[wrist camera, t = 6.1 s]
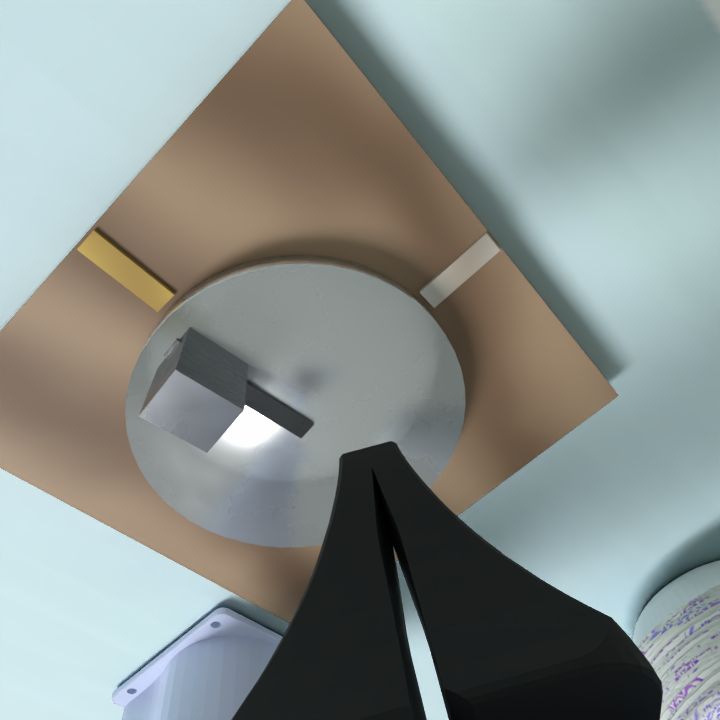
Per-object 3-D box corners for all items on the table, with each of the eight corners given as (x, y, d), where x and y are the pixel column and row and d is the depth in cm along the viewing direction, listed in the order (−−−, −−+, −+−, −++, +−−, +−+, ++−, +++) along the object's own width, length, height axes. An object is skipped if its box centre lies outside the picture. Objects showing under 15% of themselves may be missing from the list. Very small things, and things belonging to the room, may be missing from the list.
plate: (302, 610, 30) (303, 633, 28) (-64, 406, 21) (-84, 426, 20) (604, 382, 25) (620, 397, 24) (297, -3, 16) (298, -9, 15)
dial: (518, 380, 23) (565, 440, 19) (323, 564, 26) (332, 644, 23) (268, 175, 17) (267, 203, 14) (67, 441, 21) (24, 519, 17)
